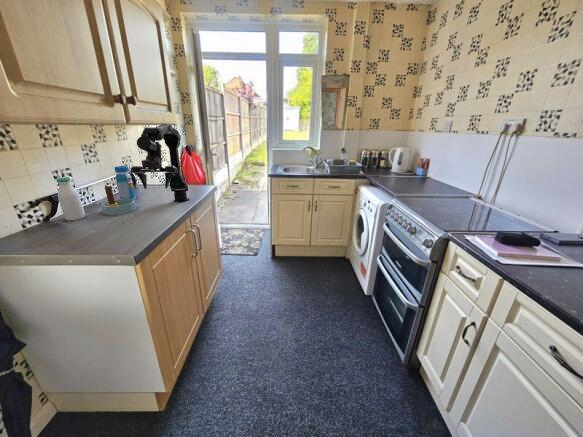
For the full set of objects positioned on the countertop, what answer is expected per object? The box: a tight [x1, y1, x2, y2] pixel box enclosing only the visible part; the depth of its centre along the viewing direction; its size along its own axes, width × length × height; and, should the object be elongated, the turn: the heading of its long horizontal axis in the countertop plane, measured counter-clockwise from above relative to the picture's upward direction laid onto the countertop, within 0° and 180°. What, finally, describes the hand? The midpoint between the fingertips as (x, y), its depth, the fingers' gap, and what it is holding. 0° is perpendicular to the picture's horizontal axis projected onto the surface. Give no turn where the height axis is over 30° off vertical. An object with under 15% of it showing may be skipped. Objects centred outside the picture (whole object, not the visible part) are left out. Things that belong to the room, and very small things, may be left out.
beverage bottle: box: [114, 165, 137, 200], centre depth 148 cm, size 8×8×20 cm
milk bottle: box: [56, 176, 86, 221], centre depth 116 cm, size 8×8×20 cm
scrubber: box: [104, 185, 118, 206], centre depth 127 cm, size 4×4×13 cm
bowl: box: [100, 198, 137, 216], centre depth 130 cm, size 15×15×5 cm
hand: (155, 188), depth 114 cm, fingers open, 9 cm apart
